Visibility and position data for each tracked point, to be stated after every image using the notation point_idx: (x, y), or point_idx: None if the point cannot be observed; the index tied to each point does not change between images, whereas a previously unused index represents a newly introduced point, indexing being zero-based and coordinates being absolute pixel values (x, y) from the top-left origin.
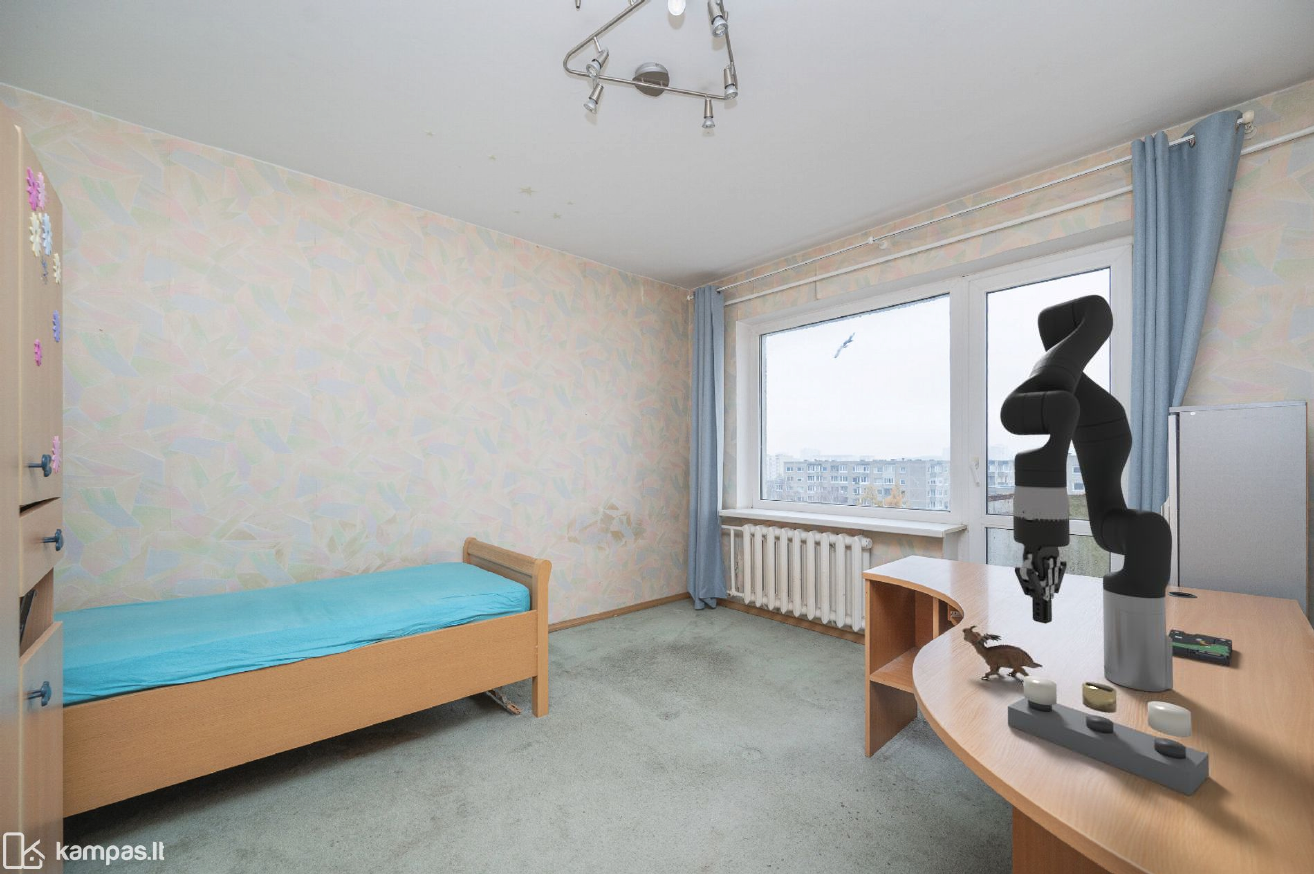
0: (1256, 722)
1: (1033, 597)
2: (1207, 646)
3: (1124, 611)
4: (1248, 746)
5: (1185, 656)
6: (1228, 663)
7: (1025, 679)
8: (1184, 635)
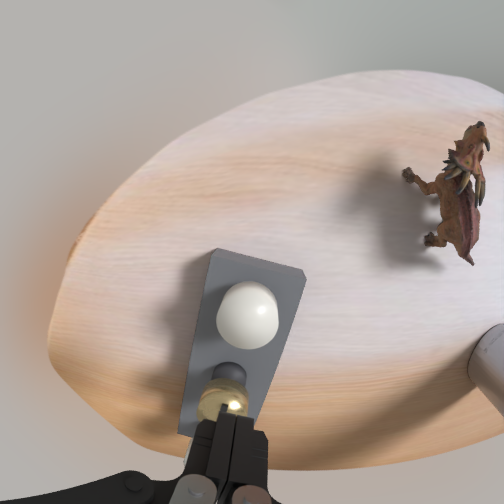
0: (421, 441)
1: (172, 482)
2: None
3: None
4: (354, 448)
5: None
6: None
7: (237, 298)
8: None
